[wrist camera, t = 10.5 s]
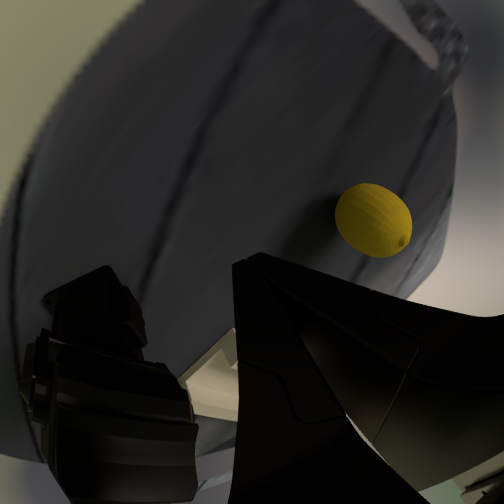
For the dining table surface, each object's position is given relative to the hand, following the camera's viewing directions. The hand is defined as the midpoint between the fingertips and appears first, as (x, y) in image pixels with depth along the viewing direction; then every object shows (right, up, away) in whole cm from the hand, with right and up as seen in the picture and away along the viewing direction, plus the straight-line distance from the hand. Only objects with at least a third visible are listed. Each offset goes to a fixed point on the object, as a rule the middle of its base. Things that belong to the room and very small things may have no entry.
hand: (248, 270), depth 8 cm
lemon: (+8, +5, +18) cm, 20 cm away
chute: (+1, -15, +26) cm, 30 cm away
